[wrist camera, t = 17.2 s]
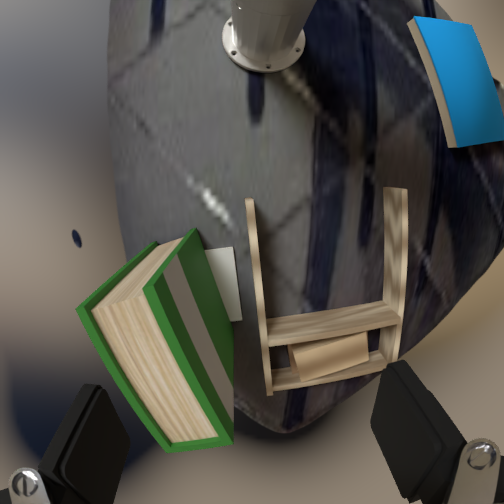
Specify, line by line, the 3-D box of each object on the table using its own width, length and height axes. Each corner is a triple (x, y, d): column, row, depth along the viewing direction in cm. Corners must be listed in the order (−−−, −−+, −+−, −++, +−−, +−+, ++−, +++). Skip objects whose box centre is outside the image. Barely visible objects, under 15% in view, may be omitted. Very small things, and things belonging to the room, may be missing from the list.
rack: (244, 198, 43) (245, 202, 37) (388, 186, 44) (410, 189, 37) (264, 374, 51) (267, 399, 44) (382, 353, 52) (397, 373, 45)
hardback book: (151, 242, 44) (75, 309, 21) (196, 227, 44) (153, 285, 20) (191, 341, 48) (166, 452, 25) (233, 330, 48) (233, 444, 25)
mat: (144, 257, 45) (143, 258, 44) (232, 246, 45) (232, 247, 45) (159, 326, 48) (158, 327, 47) (242, 318, 48) (242, 320, 48)
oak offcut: (290, 344, 47) (293, 354, 44) (359, 323, 47) (366, 331, 44) (298, 371, 49) (301, 382, 46) (362, 351, 48) (369, 360, 46)
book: (459, 148, 39) (414, 15, 33) (444, 149, 43) (403, 23, 37) (510, 139, 39) (473, 24, 32) (496, 139, 43) (461, 29, 36)
